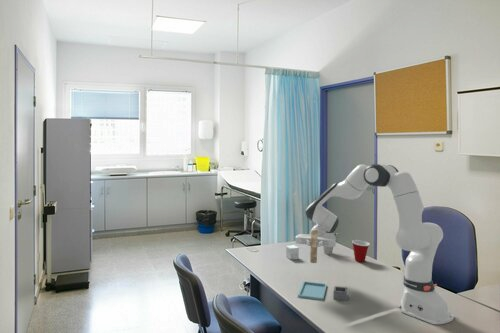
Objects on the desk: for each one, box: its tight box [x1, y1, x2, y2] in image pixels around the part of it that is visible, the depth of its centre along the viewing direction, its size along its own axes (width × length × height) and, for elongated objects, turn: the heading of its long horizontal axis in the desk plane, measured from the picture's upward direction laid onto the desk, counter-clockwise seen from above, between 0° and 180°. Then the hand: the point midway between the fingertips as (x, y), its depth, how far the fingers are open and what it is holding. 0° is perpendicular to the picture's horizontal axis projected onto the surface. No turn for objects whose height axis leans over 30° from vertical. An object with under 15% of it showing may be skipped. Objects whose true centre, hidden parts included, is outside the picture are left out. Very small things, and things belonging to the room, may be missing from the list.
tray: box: [297, 280, 328, 301], centre depth 192 cm, size 18×12×2 cm, turn 164°
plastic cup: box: [351, 239, 370, 263], centre depth 240 cm, size 11×11×12 cm
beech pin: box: [309, 229, 318, 264], centre depth 190 cm, size 3×3×16 cm
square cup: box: [333, 285, 348, 302], centre depth 185 cm, size 6×6×5 cm
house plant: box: [322, 231, 339, 255], centre depth 253 cm, size 14×14×16 cm
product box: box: [285, 244, 300, 260], centre depth 245 cm, size 6×6×7 cm
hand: (313, 244), depth 189 cm, fingers closed on beech pin, 3 cm apart
